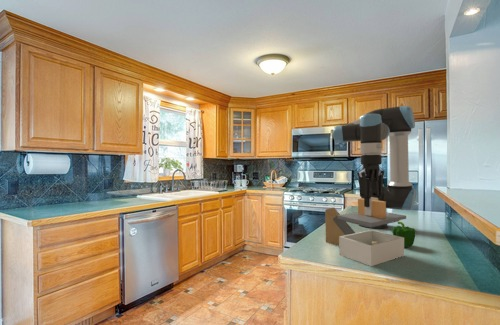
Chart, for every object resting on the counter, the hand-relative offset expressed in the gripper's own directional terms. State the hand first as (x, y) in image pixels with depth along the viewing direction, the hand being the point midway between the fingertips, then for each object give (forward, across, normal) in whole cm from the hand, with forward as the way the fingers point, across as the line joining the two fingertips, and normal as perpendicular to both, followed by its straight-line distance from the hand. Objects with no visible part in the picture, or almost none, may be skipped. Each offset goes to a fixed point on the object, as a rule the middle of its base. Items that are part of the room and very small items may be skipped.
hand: (371, 214), depth 105 cm
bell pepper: (+16, +22, 0) cm, 27 cm away
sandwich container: (+16, +3, +15) cm, 22 cm away
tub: (+16, 0, 0) cm, 16 cm away
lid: (+3, 0, 0) cm, 3 cm away
